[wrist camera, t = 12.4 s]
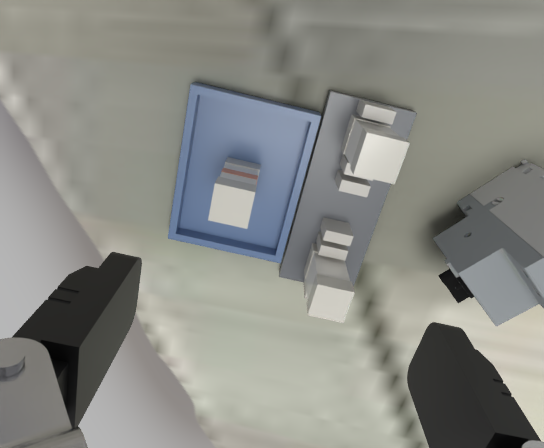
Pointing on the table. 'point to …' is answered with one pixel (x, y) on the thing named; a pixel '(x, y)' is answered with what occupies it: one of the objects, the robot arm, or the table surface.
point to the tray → (248, 147)
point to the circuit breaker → (499, 244)
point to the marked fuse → (234, 193)
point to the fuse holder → (339, 191)
